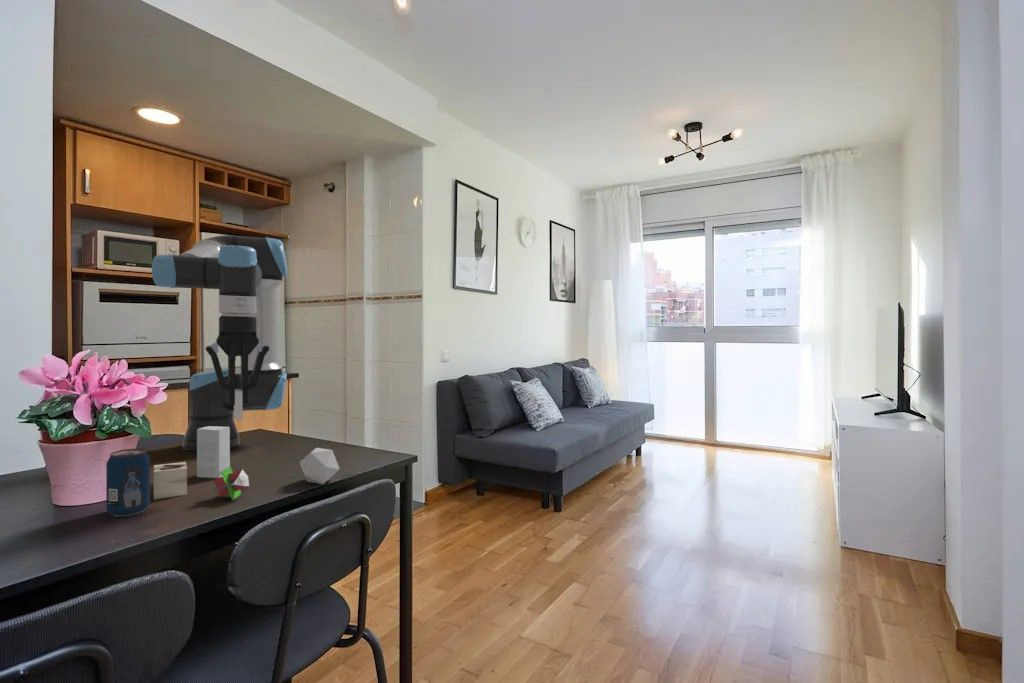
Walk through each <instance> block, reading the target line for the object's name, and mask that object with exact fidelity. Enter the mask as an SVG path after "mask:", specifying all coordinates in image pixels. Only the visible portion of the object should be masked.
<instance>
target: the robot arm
mask: <svg viewBox="0 0 1024 683" xmlns="http://www.w3.org/2000/svg"><path fill="white" fill-rule="evenodd" d="M151 275H152V276H151V277H152V280H153V282H154V285H156V286H157V287H161V288H171V289H176V288H177V289H205V290H206V289H208V290H218V313H219V314H221V315H220V316H219V317H218V336H217V338H216V339H215V342H214V343H211V344H210V345H206V347H205V349H204V350H205V352H207V354H208V355H209V356H210V359H211V362H212V365H213V369H214V370H209V371H203V372H198V373H194V374H193V375H191V377H190V378H189V389H188V391H189V423H188V426H187V428H186V431H185V435H183V440H182V450H184V451H187V452H197V429H199V428H203V427H207V426H218V427H230V449H231V448H235V447H237V446H239V445H240V442H241V441H240V440H241V439H240V438H241V437H240V434H239V431H238V428H237V425H236V423H235V421H241V420H244V419H243V415H244V414H243V411H245V412H246V411H265V412H266V411H271V410H272V411H273V410H278V409H280V408H281V407H282V406H283V403H284V398H285V394H286V393H285V392H286V388H287V387H286V385H287V379H288V378H287V377H288V375H287V373H286V372H283V367H282V366H281V365H280V364H279V363H278V287H279V286H280V285H281V284H282V283H283V277H284V278H286V277H288V265H287V258H286V252H285V246H284V243H283V241H282V240H281V239H278V238H272V237H271V238H270V237H262V236H259V237H258V236H247V235H244V236H243V235H232V234H230V235H229V234H224V235H223V234H222V235H218V236H217V235H216V236H211V237H207V238H204V239H202V240H199V241H197V242H195V243H194V244H193V246H192V247H191V248H190V249H189V250H187V251H184V252H182V253H180V254H178V255H177V254H171V253H168V254H157V255H155V256H154V257H153V258H152V263H151ZM219 349H221V350H222V351H223V353H225V355H226V356H227V368H226V369H225V368H224V369H222V366H221V363H220V359H219V357H218V356H219V355H218V353H219ZM238 356H239V357H240V373H236V357H238ZM234 420H235V421H234Z"/></svg>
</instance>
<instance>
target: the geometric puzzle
mask: <svg viewBox="0 0 1024 683" xmlns="http://www.w3.org/2000/svg"><path fill="white" fill-rule="evenodd" d="M233 468H234V470H235V471H234V470H233ZM221 474H222V476H223V477H220V478H212V479H213V481H214V482H213V483H214V485H215V488H216V490H213V492H214V493H216V494H217V495H219V497H220V498H223V499H224V498H225V499H227V500H229V501H234V500H235V499H236V498H238V497H239V496H241V495H243V493H244V491H246V490H247V488H249V487H250V480H249V474H247V473H246V471H245V470H244V469H243V468H239V467H238V468H236V467H233V466H232V465H230V467H229V468H227V469H225V470H223V471H221ZM221 474H220V475H221ZM218 475H219V474H218ZM218 475H217V476H218ZM241 490H242V491H241ZM228 496H229V497H230V498H231V499H230V498H229V497H228Z"/></svg>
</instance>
